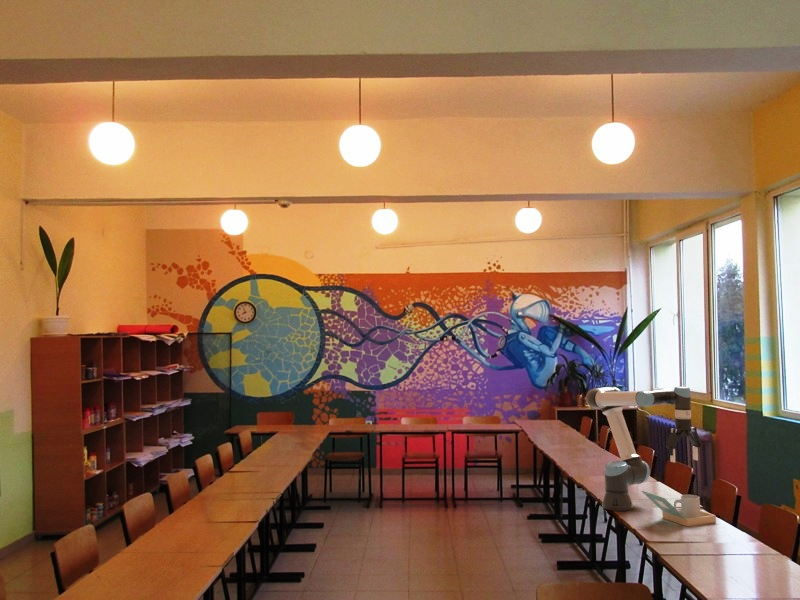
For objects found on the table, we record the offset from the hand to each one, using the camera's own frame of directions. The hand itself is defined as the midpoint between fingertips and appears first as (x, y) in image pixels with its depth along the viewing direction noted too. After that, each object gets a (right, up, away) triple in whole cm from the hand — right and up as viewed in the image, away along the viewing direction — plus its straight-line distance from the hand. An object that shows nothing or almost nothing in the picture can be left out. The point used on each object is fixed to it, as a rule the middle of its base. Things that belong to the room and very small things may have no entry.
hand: (684, 461), depth 339 cm
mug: (-1, -27, -6) cm, 28 cm away
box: (0, -28, -6) cm, 28 cm away
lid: (-14, -18, -10) cm, 25 cm away
